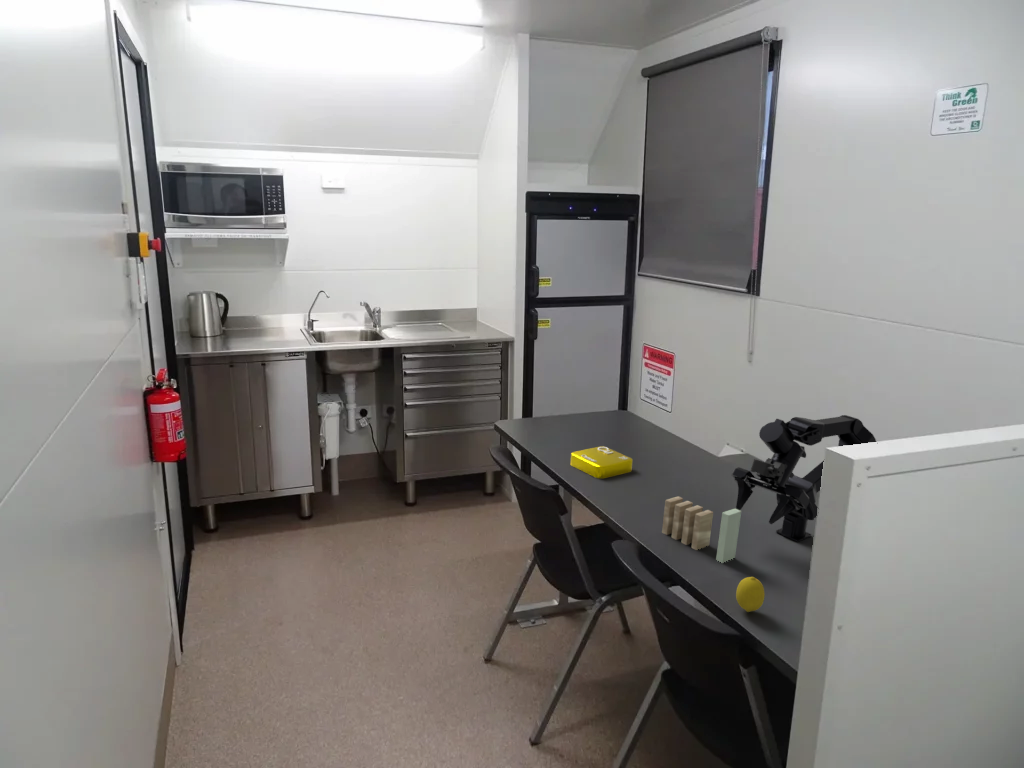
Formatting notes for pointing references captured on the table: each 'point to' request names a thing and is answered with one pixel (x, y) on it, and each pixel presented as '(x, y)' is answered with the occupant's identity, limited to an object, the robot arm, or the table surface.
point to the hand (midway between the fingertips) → (753, 516)
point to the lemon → (750, 594)
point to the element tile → (601, 462)
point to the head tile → (728, 535)
